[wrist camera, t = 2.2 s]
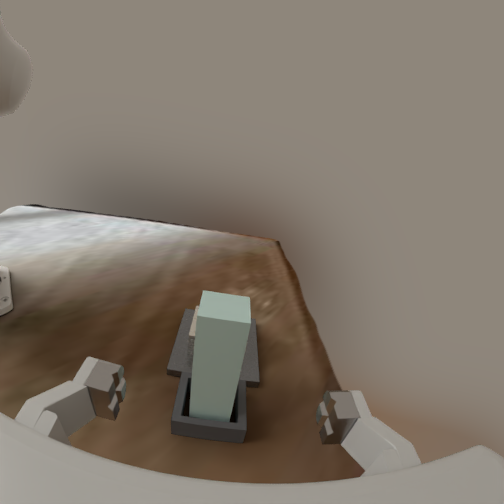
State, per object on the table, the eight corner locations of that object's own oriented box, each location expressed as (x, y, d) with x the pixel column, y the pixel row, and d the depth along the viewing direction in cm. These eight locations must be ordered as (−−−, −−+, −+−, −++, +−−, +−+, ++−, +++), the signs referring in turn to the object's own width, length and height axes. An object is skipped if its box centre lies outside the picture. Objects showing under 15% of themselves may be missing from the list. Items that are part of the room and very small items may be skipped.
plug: (227, 430, 26) (251, 323, 22) (188, 424, 26) (196, 315, 21) (228, 402, 30) (249, 297, 25) (192, 397, 30) (203, 290, 25)
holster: (242, 443, 25) (246, 430, 24) (171, 433, 24) (171, 420, 24) (242, 394, 32) (245, 380, 31) (181, 386, 31) (182, 371, 30)
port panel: (257, 387, 33) (264, 364, 32) (166, 374, 32) (167, 350, 31) (254, 324, 46) (258, 302, 45) (185, 313, 45) (186, 291, 44)
